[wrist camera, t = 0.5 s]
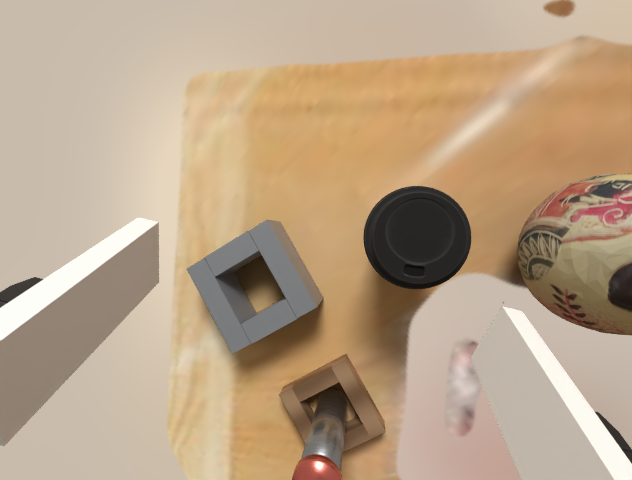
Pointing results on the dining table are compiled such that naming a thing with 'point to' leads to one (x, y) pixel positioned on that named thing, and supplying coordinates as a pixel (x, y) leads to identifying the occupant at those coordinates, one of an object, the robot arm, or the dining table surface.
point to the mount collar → (345, 373)
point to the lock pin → (324, 439)
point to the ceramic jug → (583, 253)
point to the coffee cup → (417, 237)
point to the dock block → (230, 297)
